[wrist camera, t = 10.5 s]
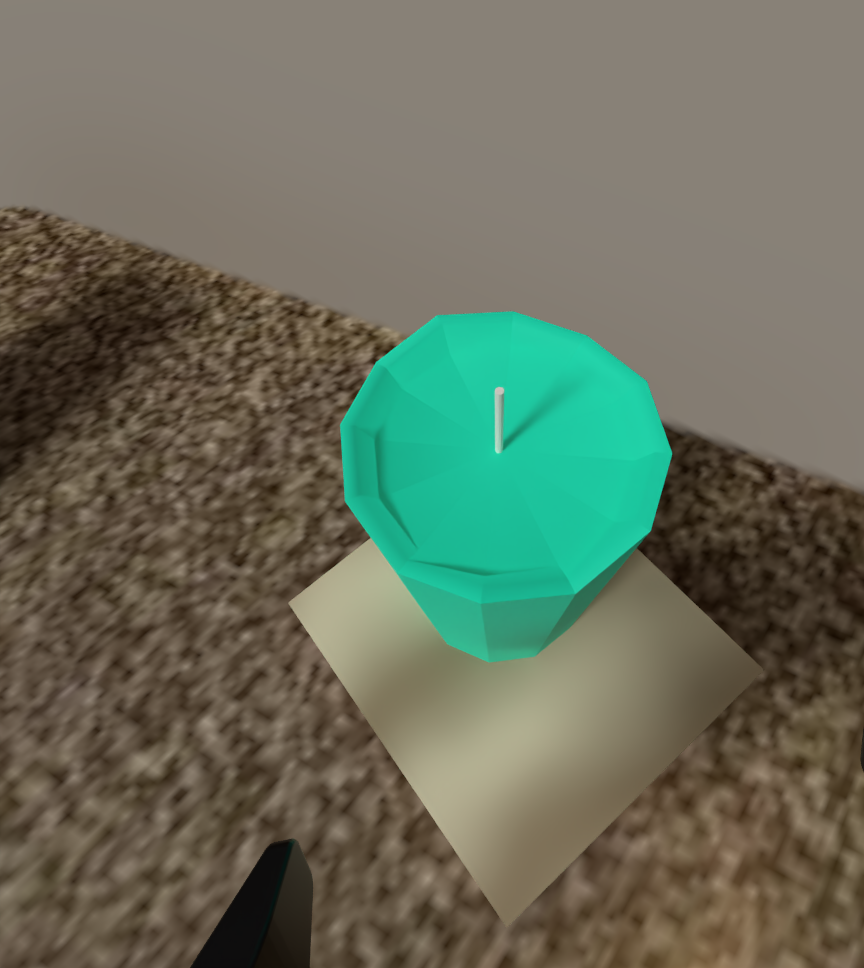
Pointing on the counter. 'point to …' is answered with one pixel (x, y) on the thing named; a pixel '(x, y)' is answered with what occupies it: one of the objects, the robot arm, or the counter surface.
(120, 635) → the counter surface
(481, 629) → the candle
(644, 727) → the beige square slab
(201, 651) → the counter surface
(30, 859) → the counter surface
